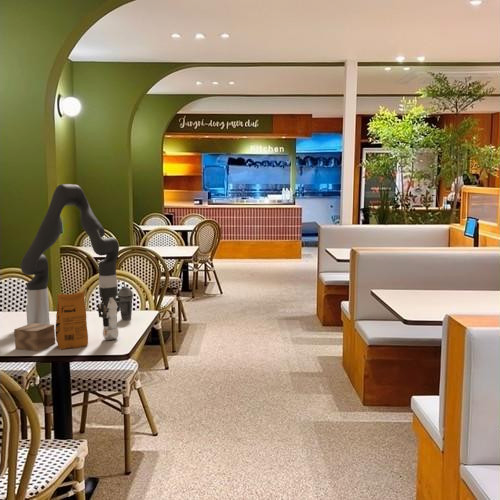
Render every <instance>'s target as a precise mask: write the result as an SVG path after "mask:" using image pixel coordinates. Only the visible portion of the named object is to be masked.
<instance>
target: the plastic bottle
mask: <svg viewBox="0 0 500 500" xmlns="http://www.w3.org/2000/svg"><path fill="white" fill-rule="evenodd" d="M110 302H111V304H110ZM104 306H105V305H104ZM104 308H105V310H108V309H110V312H109V315H108V320H109V326H108V327H104V326H103V329H102V330H103V331H102V337H103V338H104V340H107V341H113V340H116V339H117V338H118V337H119V334H120V333H119V332H120V331H119V328H118V320H117V321H116V312H117V303H116V302H115V300H114V299H113V297H112V298H110V300H109V302H108V306H107V307H106V306H105V307H104ZM105 314H106V312H105Z"/></svg>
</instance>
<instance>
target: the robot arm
mask: <svg viewBox="0 0 500 500" xmlns="http://www.w3.org/2000/svg"><path fill="white" fill-rule="evenodd" d="M66 206H75V207H76V208H77V209H78V210H79V212H80V224H81V227H82V228H83V231H84V232H85V233H86V235H87V236H88V238H89V240H90V243H91V247H92V251H93V252H94V253H95V254H96V255H98V256H105V258H104V259H103V260H100V261H99V262H98V293H99V295H98V296H99V297H100V298H101V302H100V303H97V304H96V305H97V312H98V313H97V314H98V317H99V318H102V326H103V328H104V327H108V326H109V320H108V315H109V312H110V309H108V310H105V308H104V307H105V306H106V307H107V306H108V302H109V300H110V298H112V297H113V299H114V300H115V302H116V303H117V312H116V321H117V322H118V318H117V317H118V312H119V313H120V312H121V311H120V298H118V292H119V289H118V277H117V266H116V265H117V261H118V257H119V252H120V251H119V250H120V246H119V241H118V240H117V239H116V238H115V237H112V236H111V237H104V236H105V234H106V230H105V228H104V226H103V225H102V223H101V222H100V221H99V219H98V218H97V217H96V215H95V213H94V211H93V209H92V208H91V206H90V203H89V201H88V198H87V197H86V195H85V192H84V190H83V188H81V186H80V185H78V184H76V183H75V184H73V183H65V184H64V183H62V184H59V185H58V186H57V187H56V188H55V189H54V192H53V194H52V197H51V201H50V203H49V206H48V209H47V211H46V214H45V216H44V218H43V220H42V222H41V224H40V226H39V228H38V230H37V232H36V234H35V237H34V239H32V242H31V243H30V246H29V248H27V251H26V252H25V253H24V255H23V257H22V259H21V262H20V270H21V272H22V273H23V274H24V275H27V276H33V278H32V279H31V280H30V281H27V283H26V297H27V304H26V305H25V309H26V311H25V312H26V323H27V324H26V325H28V324H31V323H39V324H50V306H49V294H48V293H49V292H48V291H49V289H48V284H49V283H48V282H49V262H48V261H49V260H48V259H47V257H46V255H45V254H44V253H45V252H46V251H47V250H48V249H50V248H52V246H53V245H54V244H55V243H56V242H57V241H58V239H59V238H60V235H61V234H62V230H63V223H62V217H61V214H62V212H63V209H64V208H65V207H66ZM110 304H111V302H110ZM104 305H105V306H104ZM105 312H106V314H105Z"/></svg>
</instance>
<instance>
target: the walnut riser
mask: <svg viewBox="0 0 500 500" xmlns="http://www.w3.org/2000/svg"><path fill="white" fill-rule="evenodd" d="M13 330H14V346H15V347H14V348H15V350H25V351H36V352H38V351H40V350H43V349H46V348H48V347H50V346H52V345H55V344H56V333H55V331H56V328H55V324H50V323H49V324H39V323H31V324H28V325H27V324H26V325H23V326H20V327H17V328H15V329H13Z"/></svg>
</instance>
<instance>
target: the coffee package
mask: <svg viewBox="0 0 500 500" xmlns="http://www.w3.org/2000/svg"><path fill="white" fill-rule="evenodd" d="M85 300H86V299H85V292H84V291H79V292H75V293H71V294H69V293H57V305H56V314H55V318H56V319H55V342H56V343H57V347H58V349H60V350H65V349H66V350H67V349H71V348H72V349H78V348H82V347H85V346H86V347H87V346H88V345H89V334H88V325H87V324H88V322H87V309H86V308H87V307H86V303H85Z"/></svg>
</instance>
